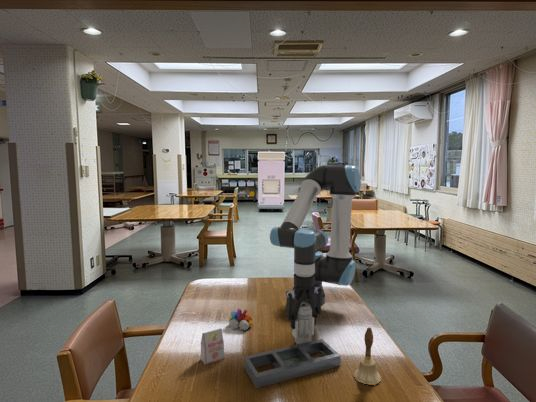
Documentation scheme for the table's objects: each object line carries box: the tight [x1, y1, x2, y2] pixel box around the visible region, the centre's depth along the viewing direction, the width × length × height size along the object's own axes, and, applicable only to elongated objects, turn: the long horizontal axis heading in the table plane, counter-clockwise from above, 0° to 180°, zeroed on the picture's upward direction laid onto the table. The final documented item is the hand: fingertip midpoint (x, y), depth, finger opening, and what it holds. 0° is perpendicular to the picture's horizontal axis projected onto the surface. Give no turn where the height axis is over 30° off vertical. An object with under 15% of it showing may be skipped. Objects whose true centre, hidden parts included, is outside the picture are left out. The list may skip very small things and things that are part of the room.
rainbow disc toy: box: [228, 308, 253, 331], centre depth 139 cm, size 8×10×7 cm
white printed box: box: [200, 328, 225, 366], centre depth 115 cm, size 4×7×10 cm, turn 121°
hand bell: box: [353, 326, 382, 385], centre depth 106 cm, size 8×8×16 cm
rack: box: [242, 338, 342, 389], centre depth 112 cm, size 30×12×4 cm, turn 113°
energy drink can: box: [294, 302, 312, 345], centre depth 125 cm, size 6×6×15 cm
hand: (303, 334), depth 126 cm, fingers closed on energy drink can, 6 cm apart
